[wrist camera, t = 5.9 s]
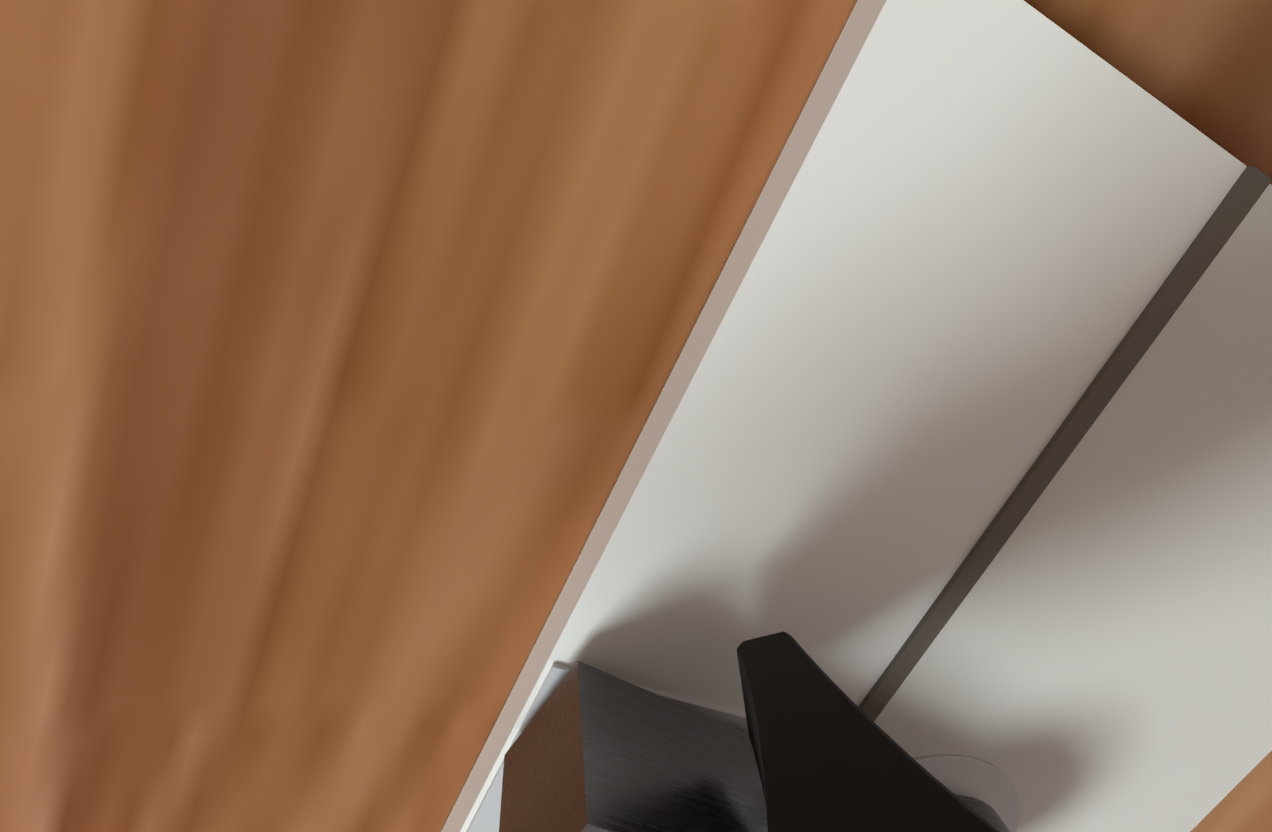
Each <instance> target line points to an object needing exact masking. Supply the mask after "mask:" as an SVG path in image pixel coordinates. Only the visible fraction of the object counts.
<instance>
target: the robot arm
mask: <svg viewBox="0 0 1272 832" xmlns="http://www.w3.org/2000/svg"><path fill="white" fill-rule="evenodd" d="M737 656H738V663H739V670H740V677H741V685H742V692H743V699H744V706H745V713H746V720H747V727H748V734H749V738H750V741H751V745H752V748H753V751H754V755H755V759H756V763H757V767H758V771H759V775H760V779H761V783H762V788H763V792H764V797H765V801H766V809H767V827H768V832H999V831H998V830H997V829H996V828H994V827H993V826H992V825H991V824H990V823H988V822H987V821H986V820H985V819H983V818H982V817H981V816H980V815H979V814H977V813H976V812H975V811H974V810H972V809H971V808H970V807H969V806H968V805H966V804H965V803H964V802H963V801H962V800H961V799H959V798H958V797H957V796H956V795H955V794H954V793H952V792H951V791H950V790H949V789H948V788H947V787H945V786H944V785H943V784H942V783H941V782H939V781H938V780H937V779H936V778H935V777H934V776H932V775H931V774H930V773H929V772H928V771H927V770H926V769H925V768H923V767H922V766H921V765H920V764H919V763H918V762H917V761H916V760H914V759H913V758H912V757H911V756H910V755H909V754H908V753H907V752H906V751H905V750H904V749H902V748H901V747H900V746H899V745H898V744H897V743H896V742H895V741H894V740H893V739H892V738H891V737H890V736H888V735H887V734H886V733H885V732H884V731H883V730H882V729H881V728H880V727H879V726H878V725H877V724H876V723H875V722H873V721H872V720H871V719H870V718H869V717H868V716H867V715H866V714H865V713H864V712H863V711H862V710H861V709H860V708H859V707H858V706H857V705H856V704H855V703H854V702H853V701H852V700H851V699H850V698H849V697H848V696H847V695H846V694H845V693H844V692H843V691H842V690H841V689H840V688H839V687H838V686H837V685H836V684H835V683H834V682H833V681H832V680H831V679H830V678H829V677H828V676H827V675H826V674H825V672H824V671H823V670H822V669H821V668H820V667H819V666H818V665H817V664H816V663H815V662H814V661H813V660H812V659H811V657H810V656H809V655H808V654H807V653H806V652H805V651H804V650H803V649H802V647H801V646H800V645H799V644H798V643H797V642H796V641H795V639H794V638H793V637H792V636H791V635H789V634H788V633H786V632H784V631H783V632H779V633H775V634H771V635H766V636H762V637H758V638H754V639H750V640H746V641H743V642H742V643H741V644H740V645H739V647H738V648H737Z"/></svg>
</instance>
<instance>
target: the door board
mask: <svg viewBox="0 0 1272 832" xmlns="http://www.w3.org/2000/svg"><path fill="white" fill-rule="evenodd" d="M1271 181H1272V179H1271V178H1270V177H1268V176H1267V175H1266V174H1264V173H1263V172H1262V171H1260V170H1259V169H1258V168H1256V167H1255V166H1246V165H1244V164H1243V163H1242V162H1240V161H1239V160H1238V159H1236V158H1235V157H1234V156H1232V155H1231V154H1230V153H1228V152H1227V151H1226V150H1224V149H1223V148H1222V147H1220V146H1219V145H1218V144H1216V143H1215V142H1214V141H1212V140H1211V139H1209V138H1208V137H1207V136H1205V135H1204V134H1203V133H1201V132H1200V131H1199V130H1197V129H1196V128H1195V127H1193V126H1192V125H1191V124H1189V123H1188V122H1187V121H1185V120H1184V119H1183V118H1181V117H1180V116H1179V115H1177V114H1176V113H1175V112H1173V111H1172V110H1170V109H1169V108H1168V107H1166V106H1165V105H1164V104H1162V103H1161V102H1160V101H1158V100H1157V99H1156V98H1154V97H1153V96H1152V95H1150V94H1149V93H1148V92H1146V91H1145V90H1144V89H1142V88H1141V87H1140V86H1138V85H1137V84H1136V83H1134V82H1133V81H1131V80H1130V79H1129V78H1127V77H1126V76H1125V75H1123V74H1122V73H1121V72H1119V71H1118V70H1117V69H1115V68H1114V67H1113V66H1111V65H1110V64H1109V63H1107V62H1106V61H1105V60H1103V59H1102V58H1101V57H1099V56H1098V55H1096V54H1095V53H1094V52H1092V51H1091V50H1090V49H1088V48H1087V47H1086V46H1084V45H1083V44H1082V43H1080V42H1079V41H1078V40H1076V39H1075V38H1074V37H1072V36H1071V35H1070V34H1068V33H1067V32H1066V31H1064V30H1063V29H1062V28H1060V27H1059V26H1057V25H1056V24H1055V23H1053V22H1052V21H1051V20H1049V19H1048V18H1047V17H1045V16H1044V15H1043V14H1041V13H1040V12H1039V11H1037V10H1036V9H1035V8H1033V7H1032V6H1031V5H1029V4H1028V3H1027V2H1025V1H1024V0H858V1H857V3H856V5H855V7H854V9H853V11H852V13H851V15H850V17H849V19H848V21H847V23H846V25H845V27H844V29H843V31H842V33H841V35H840V37H839V39H838V41H837V43H836V45H835V47H834V49H833V51H832V53H831V55H830V57H829V59H828V61H827V63H826V65H825V67H824V68H823V70H822V72H821V74H820V76H819V78H818V80H817V82H816V84H815V86H814V88H813V90H812V92H811V94H810V96H809V98H808V100H807V102H806V104H805V106H804V108H803V110H802V112H801V114H800V116H799V118H798V120H797V122H796V124H795V126H794V128H793V130H792V132H791V134H790V136H789V138H788V140H787V142H786V144H785V146H784V148H783V150H782V152H781V154H780V156H779V158H778V160H777V162H776V164H775V166H774V168H773V170H772V172H771V174H770V176H769V178H768V180H767V182H766V184H765V186H764V188H763V190H762V192H761V194H760V196H759V198H758V200H757V202H756V204H755V206H754V208H753V210H752V212H751V214H750V216H749V218H748V220H747V222H746V224H745V226H744V228H743V230H742V232H741V234H740V236H739V238H738V240H737V242H736V244H735V246H734V248H733V250H732V252H731V254H730V256H729V258H728V260H727V262H726V264H725V266H724V268H723V270H722V272H721V274H720V276H719V278H718V280H717V282H716V284H715V286H714V288H713V290H712V292H711V294H710V296H709V298H708V300H707V302H706V304H705V306H704V308H703V310H702V312H701V314H700V316H699V318H698V320H697V322H696V324H695V326H694V328H693V330H692V332H691V334H690V336H689V338H688V340H687V342H686V344H685V346H684V348H683V350H682V352H681V354H680V356H679V358H678V360H677V362H676V364H675V366H674V368H673V370H672V372H671V374H670V376H669V378H668V380H667V382H666V384H665V386H664V388H663V390H662V392H661V394H660V396H659V398H658V400H657V402H656V404H655V406H654V408H653V410H652V412H651V414H650V416H649V418H648V420H647V422H646V424H645V426H644V428H643V430H642V432H641V434H640V436H639V438H638V440H637V442H636V444H635V446H634V448H633V450H632V452H631V454H630V456H629V458H628V460H627V462H626V464H625V466H624V468H623V470H622V472H621V474H620V476H619V478H618V480H617V482H616V484H615V486H614V488H613V490H612V492H611V494H610V496H609V498H608V500H607V502H606V504H605V506H604V508H603V510H602V512H601V514H600V516H599V518H598V520H597V522H596V524H595V526H594V528H593V530H592V532H591V534H590V536H589V538H588V540H587V542H586V544H585V546H584V548H583V550H582V552H581V554H580V556H579V558H578V560H577V562H576V564H575V566H574V568H573V570H572V572H571V574H570V576H569V578H568V580H567V582H566V584H565V586H564V588H563V590H562V592H561V594H560V596H559V598H558V600H557V602H556V604H555V606H554V608H553V610H552V612H551V614H550V615H549V617H548V619H547V621H546V623H545V625H544V627H543V629H542V631H541V633H540V635H539V637H538V639H537V641H536V643H535V645H534V647H533V649H532V651H531V653H530V655H529V657H528V659H527V661H526V663H525V665H524V667H523V669H522V671H521V673H520V675H519V677H518V679H517V681H516V683H515V685H514V687H513V689H512V691H511V693H510V695H509V697H508V699H507V701H506V703H505V705H504V707H503V709H502V711H501V713H500V715H499V717H498V719H497V721H496V723H495V725H494V727H493V729H492V731H491V733H490V735H489V737H488V739H487V741H486V743H485V745H484V747H483V749H482V751H481V753H480V755H479V757H478V759H477V761H476V763H475V765H474V767H473V769H472V771H471V773H470V775H469V777H468V779H467V781H466V783H465V785H464V787H463V789H462V791H461V793H460V795H459V797H458V799H457V801H456V803H455V805H454V807H453V809H452V811H451V813H450V815H449V817H448V819H447V821H446V823H445V825H444V827H443V829H442V831H441V832H499V824H500V810H501V796H502V782H503V768H504V755H505V754H506V752H507V751H508V750H509V749H510V747H511V746H512V745H513V743H514V742H515V741H516V739H517V738H518V737H519V735H520V734H521V733H522V732H523V730H524V729H525V728H526V726H527V725H528V724H529V722H530V721H531V720H532V718H533V717H534V716H535V715H536V713H537V712H538V711H539V709H540V708H541V707H542V705H543V704H544V703H545V702H546V700H547V699H548V698H549V696H550V695H551V694H552V692H553V691H554V690H555V688H556V687H557V686H558V685H559V683H560V682H561V681H562V679H563V678H564V677H565V675H566V674H567V673H568V671H569V670H570V669H571V668H572V666H573V665H574V664H575V662H576V661H580V662H582V663H584V664H587V665H589V666H591V667H594V668H596V669H598V670H601V671H603V672H605V673H608V674H610V675H612V676H615V677H617V678H619V679H622V680H624V681H626V682H629V683H631V684H633V685H636V686H638V687H640V688H643V689H645V690H647V691H650V692H652V693H654V694H657V695H659V696H661V697H664V698H666V699H668V700H671V701H673V702H675V703H678V704H680V705H682V706H685V707H687V708H689V709H692V710H694V711H696V712H699V713H701V714H703V715H706V716H708V717H710V718H713V719H715V720H717V721H720V722H722V723H724V724H727V725H729V726H731V727H734V728H736V729H738V730H741V731H743V732H745V733H748V727H747V720H746V713H745V706H744V699H743V692H742V685H741V677H740V670H739V663H738V656H737V648H738V647H739V645H740V644H741V643H742V642H743V641H746V640H750V639H754V638H758V637H762V636H766V635H771V634H775V633H779V632H783V631H784V632H786V633H788V634H789V635H791V636H792V637H793V638H794V639H795V641H796V642H797V643H798V644H799V645H800V646H801V647H802V649H803V650H804V651H805V652H806V653H807V654H808V655H809V656H810V657H811V659H812V660H813V661H814V662H815V663H816V664H817V665H818V666H819V667H820V668H821V669H822V670H823V671H824V672H825V674H826V675H827V676H828V677H829V678H830V679H831V680H832V681H833V682H834V683H835V684H836V685H837V686H838V687H839V688H840V689H841V690H842V691H843V692H844V693H845V694H846V695H847V696H848V697H849V698H850V699H851V700H852V701H853V702H854V703H855V704H856V705H857V706H858V707H859V708H860V709H861V710H862V711H863V712H864V713H865V714H866V715H867V716H868V717H869V718H870V719H871V720H872V721H873V722H875V723H876V724H877V725H878V726H879V727H880V728H881V729H882V730H883V731H884V732H885V733H886V734H887V735H888V736H890V737H891V738H892V739H893V740H894V741H895V742H896V743H897V744H898V745H899V746H900V747H901V748H902V749H904V750H905V751H906V752H907V753H908V754H909V755H910V756H911V757H912V758H913V759H914V760H916V761H917V762H918V763H919V764H920V765H921V766H922V767H923V768H925V769H926V770H927V771H928V772H929V773H930V774H931V775H932V776H934V777H935V778H936V779H937V780H938V781H939V782H941V783H942V784H943V785H944V786H945V787H947V788H948V789H949V790H950V791H951V792H952V793H954V794H955V795H963V796H968V797H973V798H976V799H979V800H981V801H983V802H985V803H987V804H988V805H990V806H991V807H992V808H993V809H994V810H995V811H996V812H997V814H998V815H999V816H1000V818H1001V819H1002V821H1003V822H1004V823H1005V825H1006V826H1007V828H1008V829H1009V830H1010V832H1190V831H1191V830H1192V829H1193V828H1194V827H1195V826H1196V825H1197V824H1198V823H1199V822H1200V821H1201V820H1202V819H1203V818H1204V817H1205V816H1206V815H1207V814H1208V813H1209V812H1210V811H1211V810H1212V809H1213V808H1214V807H1215V806H1216V805H1217V804H1218V803H1219V802H1220V801H1221V800H1222V799H1223V798H1224V797H1225V796H1226V795H1227V794H1228V793H1229V792H1230V791H1231V790H1232V789H1233V788H1234V787H1235V786H1236V785H1237V784H1238V783H1239V782H1240V781H1241V780H1242V779H1243V778H1244V777H1245V776H1246V775H1247V774H1248V773H1249V772H1250V771H1251V770H1252V769H1253V768H1254V767H1255V766H1256V765H1257V764H1258V763H1259V762H1260V761H1261V760H1262V759H1263V758H1264V757H1265V756H1266V755H1267V754H1268V753H1269V752H1270V751H1271V750H1272V185H1271V184H1270V183H1271Z"/></svg>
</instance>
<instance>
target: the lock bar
mask: <svg viewBox="0 0 1272 832" xmlns="http://www.w3.org/2000/svg"><path fill="white" fill-rule="evenodd" d="M956 796H957V797H958V798H959V799H961V800H962V801H963V802H964V803H965V804H966V805H968V806H969V807H970V808H971V809H972V810H974V811H975V812H976V813H977V814H979V815H980V816H981V817H982V818H983V819H985V820H986V821H987V822H988V823H990V824H991V825H992V826H993V827H994V828H996V829H997V830H998V831H999V832H1010V830H1009V829H1008V828H1007V826H1006V825H1005V823H1004V822H1003V821H1002V819H1001V818H1000V816H999V815H998V814H997V812H996V811H995V810H994V809H993V808H992V807H991V806H990V805H988V804H987V803H985V802H983V801H981V800H979V799H976V798H973V797H968V796H963V795H956ZM499 832H768V827H767V809H766V801H765V797H764V792H763V788H762V783H761V779H760V775H759V771H758V767H757V763H756V759H755V755H754V751H753V748H752V745H751V741H750V738H749V734H748V733H745V732H743V731H741V730H738V729H736V728H734V727H731V726H729V725H727V724H724V723H722V722H720V721H717V720H715V719H713V718H710V717H708V716H706V715H703V714H701V713H699V712H696V711H694V710H692V709H689V708H687V707H685V706H682V705H680V704H678V703H675V702H673V701H671V700H668V699H666V698H664V697H661V696H659V695H657V694H654V693H652V692H650V691H647V690H645V689H643V688H640V687H638V686H636V685H633V684H631V683H629V682H626V681H624V680H622V679H619V678H617V677H615V676H612V675H610V674H608V673H605V672H603V671H601V670H598V669H596V668H594V667H591V666H589V665H587V664H584V663H582V662H580V661H576V662H575V664H574V665H573V666H572V668H571V669H570V670H569V671H568V673H567V674H566V675H565V677H564V678H563V679H562V681H561V682H560V683H559V685H558V686H557V687H556V688H555V690H554V691H553V692H552V694H551V695H550V696H549V698H548V699H547V700H546V702H545V703H544V704H543V705H542V707H541V708H540V709H539V711H538V712H537V713H536V715H535V716H534V717H533V718H532V720H531V721H530V722H529V724H528V725H527V726H526V728H525V729H524V730H523V732H522V733H521V734H520V735H519V737H518V738H517V739H516V741H515V742H514V743H513V745H512V746H511V747H510V749H509V750H508V751H507V752H506V754H505V755H504V768H503V782H502V796H501V810H500V824H499Z"/></svg>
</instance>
